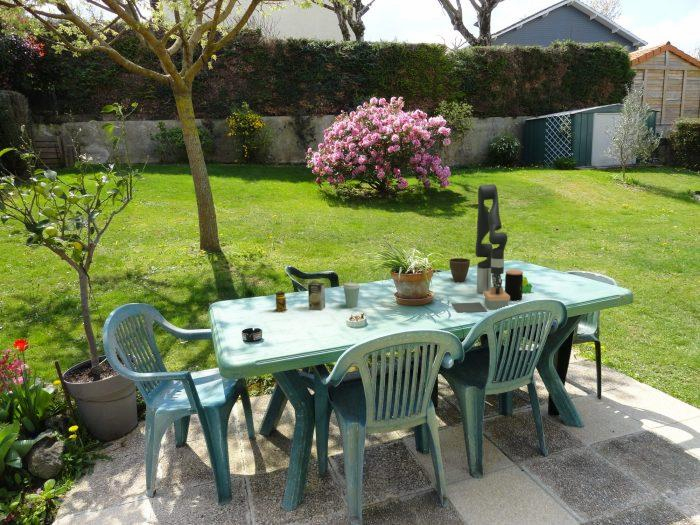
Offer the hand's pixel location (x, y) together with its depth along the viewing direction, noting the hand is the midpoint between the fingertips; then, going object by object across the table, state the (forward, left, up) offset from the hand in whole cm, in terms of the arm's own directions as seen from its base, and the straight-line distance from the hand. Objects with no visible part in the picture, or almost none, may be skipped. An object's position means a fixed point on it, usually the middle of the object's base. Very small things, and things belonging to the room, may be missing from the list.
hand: (496, 292), depth 304 cm
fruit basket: (-29, +26, -9) cm, 40 cm away
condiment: (-6, -133, -9) cm, 133 cm away
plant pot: (-62, -9, -9) cm, 63 cm away
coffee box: (-8, -110, -9) cm, 111 cm away
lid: (0, 0, -3) cm, 3 cm away
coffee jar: (-14, +15, -9) cm, 22 cm away
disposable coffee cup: (-10, -88, -9) cm, 89 cm away
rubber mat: (+1, -17, -9) cm, 19 cm away
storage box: (0, 0, -9) cm, 9 cm away
